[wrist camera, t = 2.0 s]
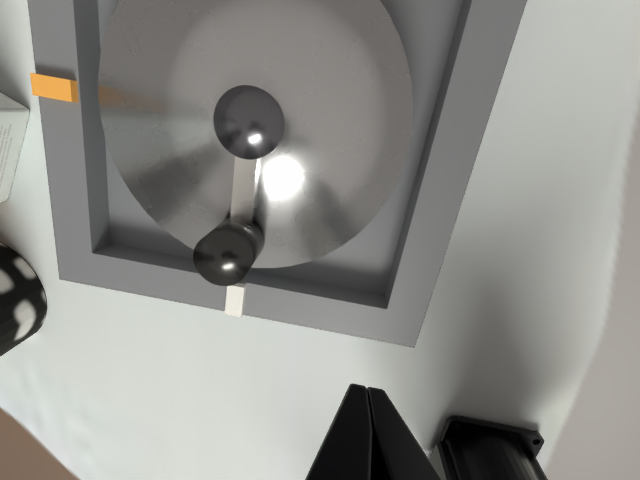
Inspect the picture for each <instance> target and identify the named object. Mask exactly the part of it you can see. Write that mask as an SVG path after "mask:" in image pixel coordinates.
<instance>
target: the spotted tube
mask: <svg viewBox="0 0 640 480" xmlns="http://www.w3.org/2000/svg"><path fill="white" fill-rule="evenodd" d="M46 311H47V305H46V297H45V293H44V290H43V287H42V285H41V283H40V281H39V279H38V277H37V276H36V274H35V273H34V271H33V270H32V269H31V267H30V266H29V265H28V264H27V263H26V262H25V261H24V260H23V259H22V257H21V256H19V255H18V254H17V253H16V252H14V251H13V250H12V249H11V248H9V247H7V246H6V245H4V244H2V243H1V242H0V356H2V355H3V354H5V353H6V352H8V351H9V350H11V349H12V348H14V347H15V346H17V345H18V344H20V343H21V342H23V341H24V340H25V339H27V338H28V337H30V336H31V335H33V334H34V333H36V332H37V331H38V330H39V329H40V327H41V326H42V324H43V322H44V320H45V317H46Z"/></svg>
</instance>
